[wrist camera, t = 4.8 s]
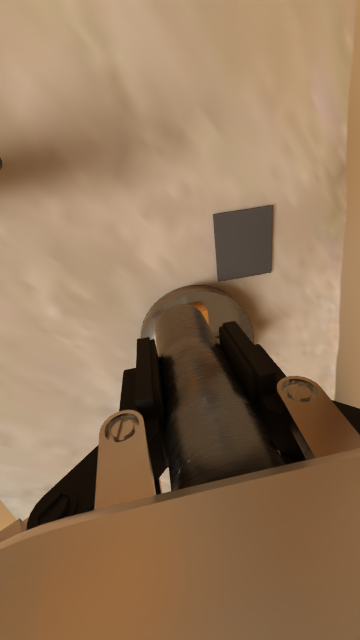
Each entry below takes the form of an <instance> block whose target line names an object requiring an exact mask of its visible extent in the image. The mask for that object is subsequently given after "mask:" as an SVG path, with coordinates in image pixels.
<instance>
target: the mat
mask: <svg viewBox="0 0 360 640" xmlns="http://www.w3.org/2000/svg"><path fill="white" fill-rule="evenodd" d="M213 220H214V234H215V248H216V261H217V275H218V281H219V282H220V281H226V280H231V279H237V278H243V277H248V276H254V275H260V274H265V273H271V249H272V206H265V207H258V208H252V209H246V210H239V211H233V212H227V213H220V214H214V215H213Z"/></svg>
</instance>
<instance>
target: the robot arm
mask: <svg viewBox="0 0 360 640" xmlns="http://www.w3.org/2000/svg"><path fill="white" fill-rule="evenodd" d="M219 339H220V346H221V348H222V350H223V352H224V354H225V355H226V357H227V359H228V361H229V363H230V365H231V366H232V368H233V370H234V372H235V374H236V375H237V377H238V379H239V381H240V383H241V384H242V386H243V388H244V390H245V392H246V394H247V395H248V397H249V399H250V401H251V403H252V404H253V406H254V408H255V410H256V412H257V414H258V415H259V417H260V419H261V421H262V423H263V424H264V426H265V428H266V430H267V432H268V433H269V435H270V437H271V439H272V441H273V443H274V444H275V446H276V448H277V450H278V452H279V453H280V455H281V457H282V459H283V461H284V463H285V464H286V465H283V466H279V467H274V468H270V469H266V470H261V471H257V472H253V473H248V474H244V475H239V476H235V477H231V478H227V479H222V480H218V481H214V482H209V483H205V484H201V485H196V486H192V487H188V488H184V489H179V490H175V491H171V492H167V493H162V488H161V482H160V478H159V477H160V476H161V475H162V473H163V472H164V471H165V470H166V468H168V467H169V463H168V454H167V444H166V434H165V415H164V406H163V396H162V387H161V378H160V369H159V359H158V354H157V349H156V344H155V340H154V339H152V340H150V338H149V337H145V338H140V339H137V360H136V368H133V369H128V370H124V373H123V382H122V391H121V400H120V409H119V412H117V413H115V414H113V415H112V416H110V417H109V418H108V419H107V420H106V421H105V422H104V423H103V425H102V427H101V429H100V433H99V445H98V446H97V447H96V448H95V449H94V450H92V451H91V452H90V453H89V454H88V455H87V456H86V457H85V458H84V459H83V460H82V461H81V462H80V463H79V464H77V465H76V466H75V467H74V468H73V469H72V470H71V471H70V472H69V473H68V474H67V475H66V476H65V477H64V478H62V479H61V480H60V481H59V482H58V483H57V484H56V485H55V486H54V487H53V488H52V489H51V490H50V491H49V492H47V493H46V494H45V495H44V496H43V497H42V498H41V500H40V501H39V502H38V503H37V504H36V505H35V507H34V509H33V510H32V512H31V513H30V516H29V517H28V518H27V519H25V520H24V521H22V520H21V519H20V518H19V519H18V520H16V521H15V522H13V523H12V524H11V525H9V526H8V527H6V528H5V529H3V530H2V531H0V640H360V409H359V408H355V407H352V406H349V405H346V404H342V403H339V402H336V401H333V400H331V399H330V398H329V397H328V395H327V394H326V393H325V392H324V391H323V389H322V388H321V387H320V386H319V385H318V384H317V383H316V382H314V381H312V380H310V379H308V378H305V377H300V376H289V377H286V375H285V374H284V373H283V372H282V371H281V369H280V368H279V367H278V366H277V365H276V363H275V362H274V361H273V360H272V359H271V357H270V356H269V355H268V354H267V353H266V351H265V350H264V349H263V348H262V347H261V346H260V345H259V344H256V345H254V344H253V343H252V342H251V340H250V339H249V338H248V336H247V335H246V334H245V333H244V331H243V330H242V329H241V328H240V326H239V325H238V324H237V323H236V321H231V322H226V323H223V324H222V326H221V327H219Z"/></svg>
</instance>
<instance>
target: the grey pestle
mask: <svg viewBox="0 0 360 640" xmlns="http://www.w3.org/2000/svg"><path fill="white" fill-rule="evenodd" d="M155 337H156V346H157V354H158V359H159V369H160V378H161V387H162V396H163V406H164V415H165V434H166V444H167V454H168V463H169V473H170V483H171V491H175V490H179V489H184V488H188V487H192V486H196V485H201V484H205V483H209V482H214V481H218V480H222V479H227V478H231V477H235V476H239V475H244V474H248V473H253V472H257V471H261V470H266V469H270V468H274V467H279V466H283V465H286V464H285V463H284V461H283V459H282V457H281V455H280V453H279V452H278V450H277V448H276V446H275V444H274V443H273V441H272V439H271V437H270V435H269V433H268V432H267V430H266V428H265V426H264V424H263V423H262V421H261V419H260V417H259V415H258V414H257V412H256V410H255V408H254V406H253V404H252V403H251V401H250V399H249V397H248V395H247V394H246V392H245V390H244V388H243V386H242V384H241V383H240V381H239V379H238V377H237V375H236V374H235V372H234V370H233V368H232V366H231V365H230V363H229V361H228V359H227V357H226V355H225V354H224V352H223V350H222V348H221V346H220V345H219V343H218V341H217V339H216V337H215V335H214V334H213V332H212V330H211V328H210V326H209V325H208V323H207V321H206V319H205V317H204V316H203V314H202V313H201V312H200V310H198V309H197V308H195V307H193V306H191V305H187V304H177V305H173V306H171V307H169V308H167V309H165V310H164V311H163V312H162V313H161V314H160V315H159V317H158V318H157V321H156V324H155Z"/></svg>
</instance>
